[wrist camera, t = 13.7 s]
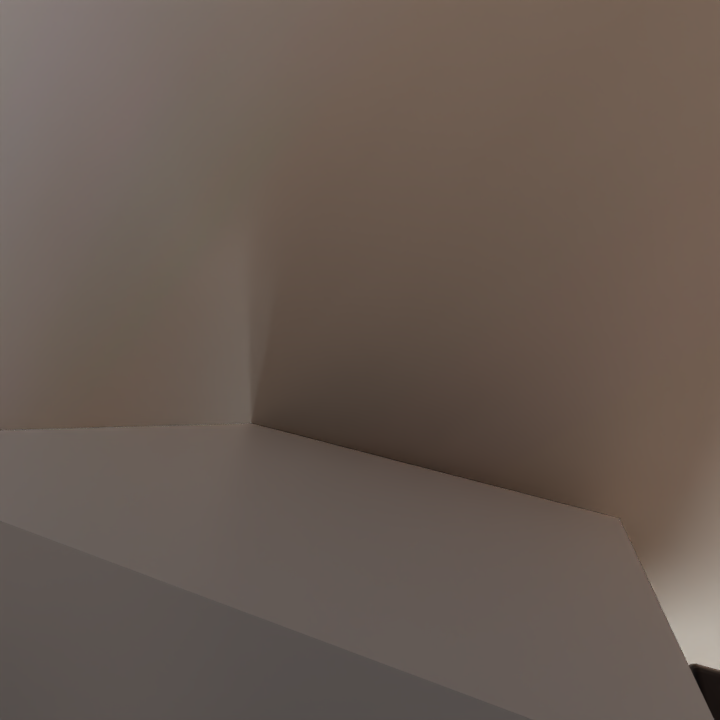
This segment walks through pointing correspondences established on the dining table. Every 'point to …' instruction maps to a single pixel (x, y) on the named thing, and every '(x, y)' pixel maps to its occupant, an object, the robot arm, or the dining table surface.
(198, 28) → the dining table surface
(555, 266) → the dining table surface
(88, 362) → the dining table surface
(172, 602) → the grey block
